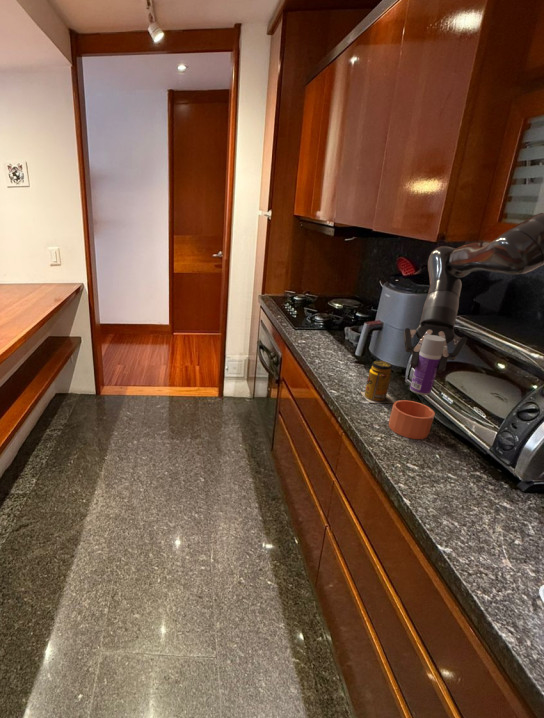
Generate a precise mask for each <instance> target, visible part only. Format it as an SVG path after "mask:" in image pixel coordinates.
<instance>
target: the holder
mask: <svg viewBox="0 0 544 718" xmlns="http://www.w3.org/2000/svg"><path fill="white" fill-rule="evenodd" d="M391 408H392V409H391V412H390V416H389V419H388V427H389V429H390V430H391V431H393V432H394V433H395V434H397V435H399V436H402V437H404V438H407V439H412V440H423V439H426V438H428V436H429V435H430V432H431V428H432V426H433V422H434V419H435V416H436V412H435V411H434V409H432V408H431V407H429V406H428V405H427V404H424V403H421V402H418V401H414V400H407V399H400V400H397V401H395V403H392V407H391Z"/></svg>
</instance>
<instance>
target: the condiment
mask: <svg viewBox="0 0 544 718" xmlns="http://www.w3.org/2000/svg"><path fill="white" fill-rule="evenodd" d="M392 367H393V365H392V364H391V363H390V362H387V361H385V360H375V361H373V362H372V364H371V368H370V369H369V372H368V376H367V382H366V385H365V391H360V393H361V396H362V397H363V398H364V399H365V400H366V402H367V403H373V404H394V403H395V402H396V401H395V400H394V399H393V398H392V397H391V395H389V393H388V390H389V387H390V381H391V378H392Z"/></svg>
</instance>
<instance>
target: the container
mask: <svg viewBox="0 0 544 718" xmlns="http://www.w3.org/2000/svg"><path fill="white" fill-rule="evenodd" d="M445 340H446V339H445V338H443V337H440V336H435V335H426V336H424V340H423V343H422V346H421V349H420V352H419V357H418V361H417V365H416V368H414V370H413V375H412V379H411V383H410V386H409V390H410V391H411V392H412V393H414V394H417V395H421V396H428V395H431V392H432V389H433V386H434V384H435V380H436V376H437V374H438V373H437V370H438V366H439V363H440V359H441V355H442V352H443V348H444V344H445Z"/></svg>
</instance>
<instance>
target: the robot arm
mask: <svg viewBox="0 0 544 718" xmlns="http://www.w3.org/2000/svg"><path fill="white" fill-rule="evenodd" d="M542 266H544V212H539V213H537V214H534V215H532V216H531V217H529V218H527V219H525V220H524V221H522V222H520V223H518V224H516V225H515V226H513V227H511V228H510V229H507V230H506V231H505V232H502V233H501V234H500V235H499V236H497V238H495V239H494V240H492V241H491V242H488V241H475V242H471V243H467V244H464V245H460V246H459V247H457V248H454V247H451V246H447V245H440V246H438V247H436V248H435V249H433V251H431V253H430V255H429V256H428V259H427V272H428V277H429V287H428V291H427V296H426V299H425V301H424V304H423V308H422V312H421V316H420V320H419V325H418V327H417V328H416V329H410V328H409V327H406V328H404V331H403V340H404V342H403V343H404V350H405V352H406V353H410V354H411V359H410V362H409V364H410V366H412V369H415V368H416V365H417V361H418V357H419V353H420V349H421V346H422V343H423V340H424V336H426V335H435V336H440V337H443V338H445V339H446V340H445V344H444V348H443V352H442V355H441V359H440V363H439V366H438V369H437V373H436V374H441V373H443V372H444V371H446V368H447V363H448V361H455V360H457V357H458V356H459V354H460V353H461V351H462V349H463V348H464V346H465V344H466V342H467V341H468V337H466V336H462V337H460V336H458V335H456V333H455V332H454V331H455V325H456V321H457V316H458V311H459V307H460V306H459V304H460V297H461V291H462V284H463V283H462V281H461V278H464V277H467V276H468V275H470V273H473V272H481V271H485V272H492V273H498V274H503V275H524V274H527V273H530V272H532V271H535V270H536V269H538V268H540V267H542ZM414 335H415V336H416V338H417V339H418V340H419V341H418V342H417V344H416V345H415V346H413V345H412V344H413V343H412V338H414ZM452 341H454V343H453V344H454V346H455V348H454V349H453V351H452V352H449V350H448V344H449V343H451V342H452Z"/></svg>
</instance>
